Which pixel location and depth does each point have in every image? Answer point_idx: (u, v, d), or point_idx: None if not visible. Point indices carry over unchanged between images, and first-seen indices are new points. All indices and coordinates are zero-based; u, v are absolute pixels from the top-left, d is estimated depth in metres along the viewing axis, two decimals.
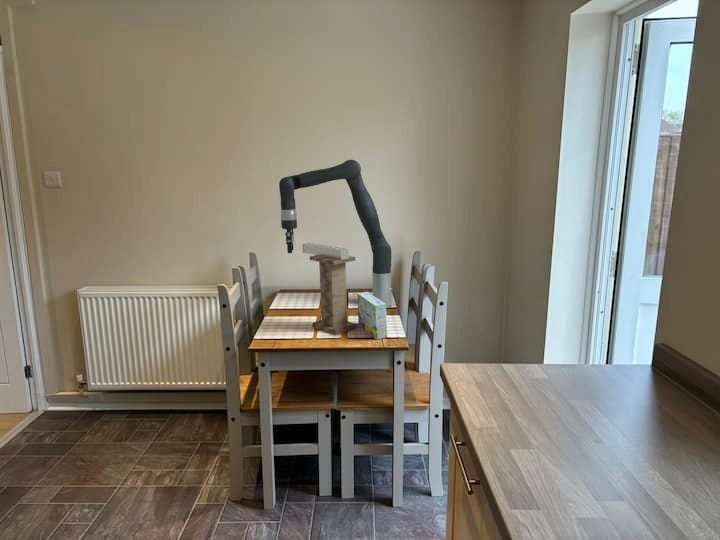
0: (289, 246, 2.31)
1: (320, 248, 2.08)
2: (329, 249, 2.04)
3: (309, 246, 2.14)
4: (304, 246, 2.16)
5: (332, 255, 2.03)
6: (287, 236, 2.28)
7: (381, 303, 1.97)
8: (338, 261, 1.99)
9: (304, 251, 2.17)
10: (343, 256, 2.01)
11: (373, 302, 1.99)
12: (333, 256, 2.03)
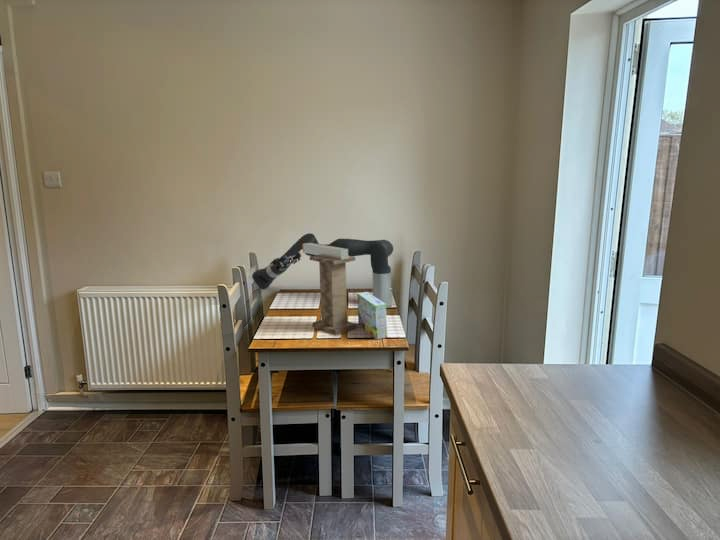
0: (280, 259, 2.26)
1: (320, 248, 2.08)
2: (329, 249, 2.04)
3: (309, 246, 2.14)
4: (304, 246, 2.16)
5: (332, 255, 2.03)
6: (272, 265, 2.29)
7: (381, 303, 1.97)
8: (338, 261, 1.99)
9: (304, 251, 2.17)
10: (343, 256, 2.01)
11: (373, 302, 1.99)
12: (333, 256, 2.03)
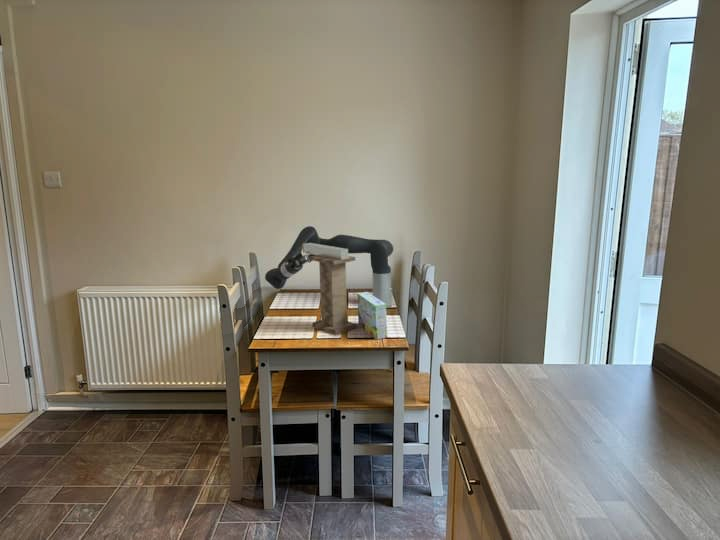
0: (295, 258, 2.17)
1: (320, 248, 2.08)
2: (329, 249, 2.04)
3: (309, 246, 2.14)
4: (304, 246, 2.16)
5: (332, 255, 2.03)
6: (287, 264, 2.20)
7: (381, 303, 1.97)
8: (338, 261, 1.99)
9: (304, 251, 2.17)
10: (343, 256, 2.01)
11: (373, 302, 1.99)
12: (333, 256, 2.03)
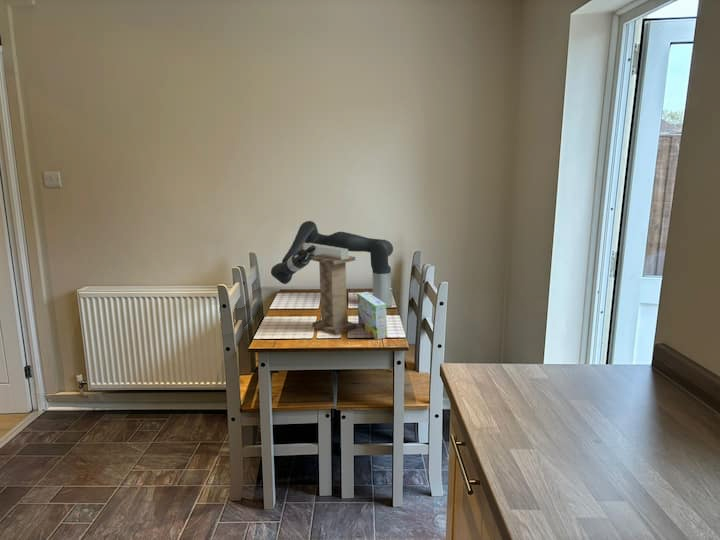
0: (307, 250, 2.13)
1: (320, 248, 2.08)
2: (329, 249, 2.04)
3: (309, 246, 2.14)
4: (304, 246, 2.16)
5: (332, 255, 2.03)
6: (297, 256, 2.14)
7: (381, 303, 1.97)
8: (338, 261, 1.99)
9: None
10: (343, 256, 2.00)
11: (373, 302, 1.99)
12: (333, 256, 2.03)
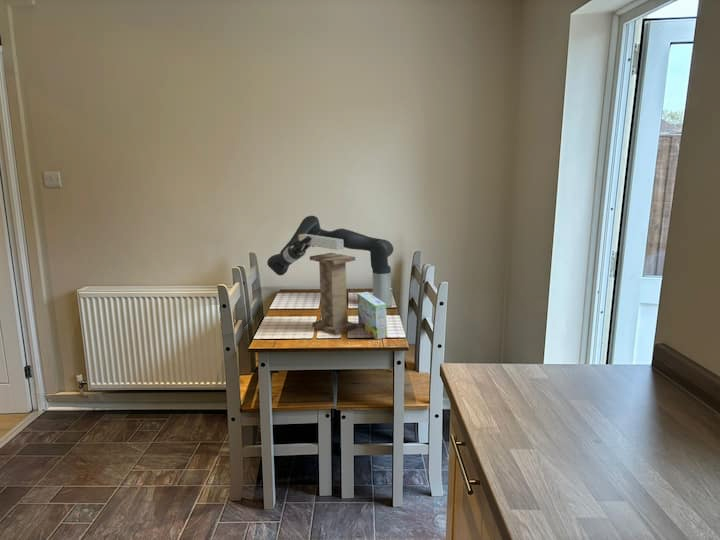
0: (303, 241, 2.14)
1: (316, 239, 2.09)
2: (324, 239, 2.05)
3: (305, 237, 2.15)
4: (300, 237, 2.17)
5: (327, 245, 2.04)
6: (293, 247, 2.15)
7: (381, 303, 1.97)
8: (338, 261, 1.99)
9: None
10: (339, 246, 2.02)
11: (373, 302, 1.99)
12: (328, 246, 2.04)
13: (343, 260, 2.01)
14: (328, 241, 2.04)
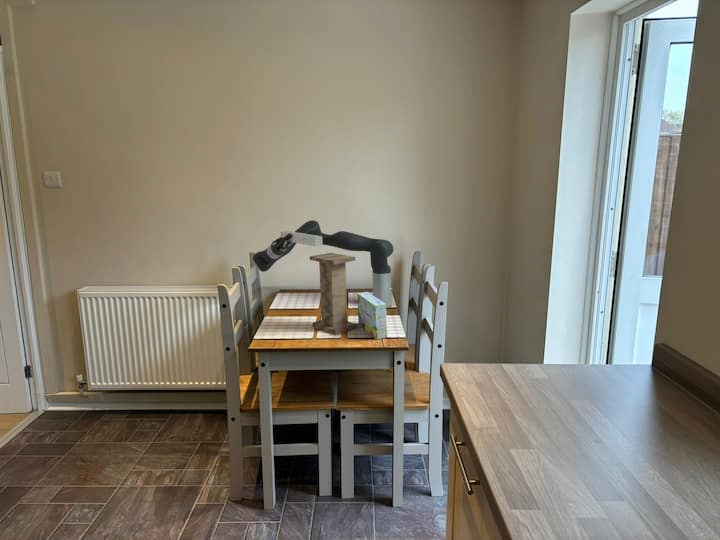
0: (285, 238, 2.24)
1: (296, 236, 2.19)
2: (304, 236, 2.15)
3: (286, 234, 2.25)
4: (282, 234, 2.27)
5: (307, 242, 2.14)
6: (275, 244, 2.25)
7: (381, 303, 1.97)
8: (338, 261, 1.99)
9: None
10: (317, 243, 2.11)
11: (373, 302, 1.99)
12: (308, 243, 2.14)
13: (343, 260, 2.01)
14: (308, 238, 2.13)
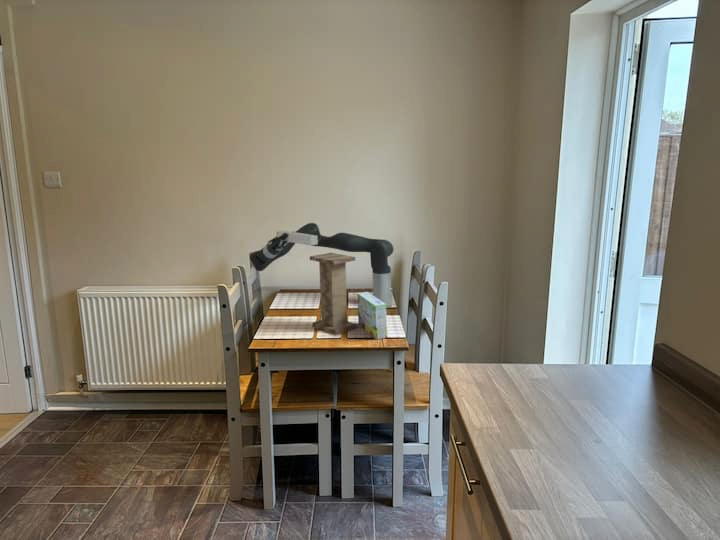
0: (280, 237, 2.26)
1: (292, 235, 2.22)
2: (300, 236, 2.17)
3: (282, 233, 2.27)
4: (278, 233, 2.30)
5: (302, 241, 2.17)
6: (271, 243, 2.27)
7: (381, 303, 1.97)
8: (338, 261, 1.99)
9: None
10: (313, 242, 2.14)
11: (373, 302, 1.99)
12: (303, 242, 2.16)
13: (343, 260, 2.01)
14: (303, 237, 2.16)
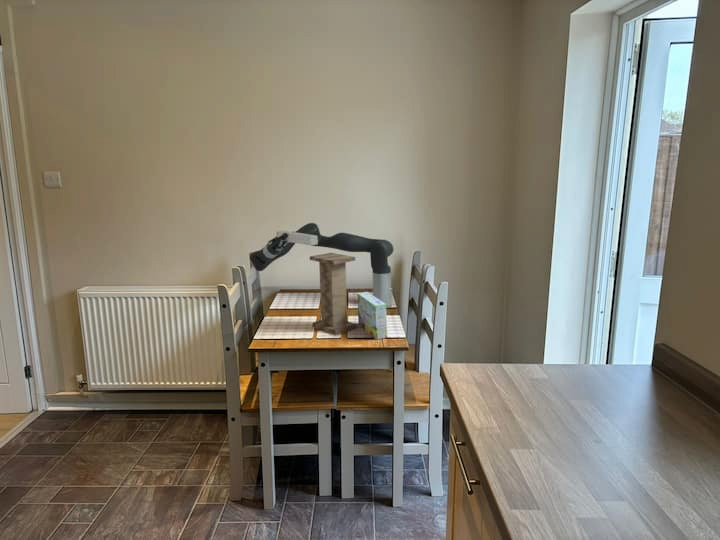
0: (280, 237, 2.26)
1: (292, 235, 2.22)
2: (300, 236, 2.17)
3: (282, 233, 2.27)
4: (278, 233, 2.30)
5: (302, 241, 2.17)
6: (271, 243, 2.27)
7: (381, 303, 1.97)
8: (338, 261, 1.99)
9: None
10: (313, 242, 2.14)
11: (373, 302, 1.99)
12: (303, 242, 2.16)
13: (343, 260, 2.01)
14: (303, 237, 2.16)
